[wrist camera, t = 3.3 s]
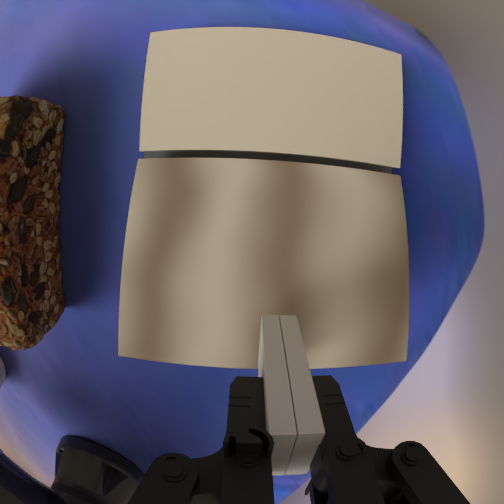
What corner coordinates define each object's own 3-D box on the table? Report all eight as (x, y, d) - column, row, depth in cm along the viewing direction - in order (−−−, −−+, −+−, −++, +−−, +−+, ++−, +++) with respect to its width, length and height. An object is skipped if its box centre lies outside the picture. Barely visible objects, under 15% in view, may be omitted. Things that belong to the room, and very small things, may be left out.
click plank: (131, 350, 15) (118, 355, 13) (147, 172, 17) (138, 158, 15) (390, 356, 16) (406, 361, 14) (387, 187, 18) (400, 175, 16)
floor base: (155, 306, 22) (143, 327, 19) (156, 48, 16) (143, 33, 13) (361, 314, 23) (374, 333, 20) (388, 67, 16) (407, 56, 13)
